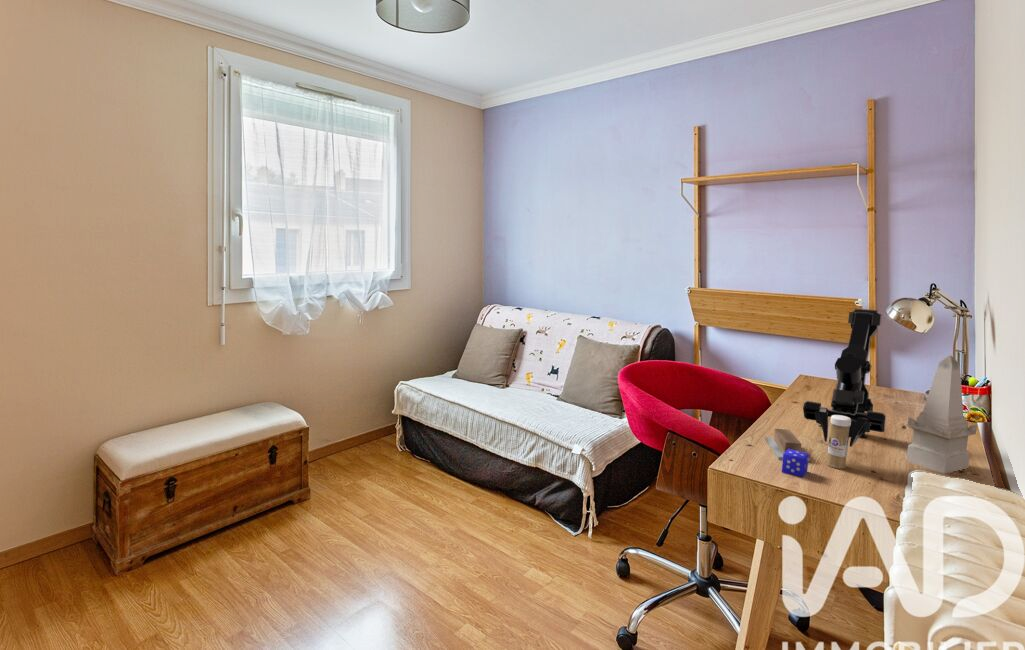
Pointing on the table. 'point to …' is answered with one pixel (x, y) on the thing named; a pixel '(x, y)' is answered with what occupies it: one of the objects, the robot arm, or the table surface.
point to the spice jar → (838, 441)
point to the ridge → (783, 443)
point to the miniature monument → (942, 424)
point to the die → (795, 462)
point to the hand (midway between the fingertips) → (837, 443)
